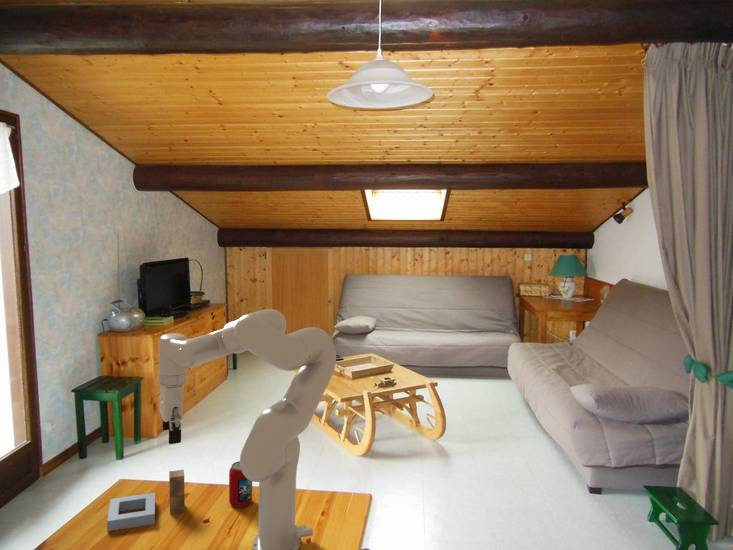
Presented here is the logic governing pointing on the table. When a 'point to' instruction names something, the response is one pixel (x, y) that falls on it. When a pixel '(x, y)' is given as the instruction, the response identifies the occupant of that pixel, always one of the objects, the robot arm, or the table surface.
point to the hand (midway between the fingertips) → (171, 436)
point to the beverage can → (239, 487)
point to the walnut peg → (176, 491)
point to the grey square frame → (133, 518)
